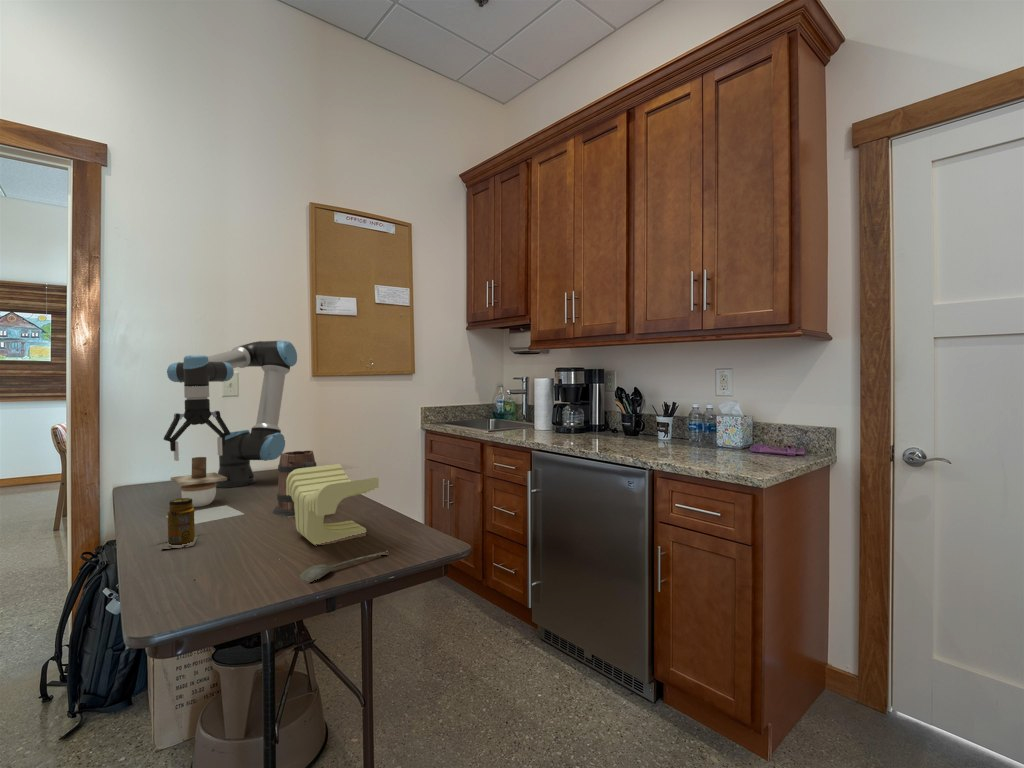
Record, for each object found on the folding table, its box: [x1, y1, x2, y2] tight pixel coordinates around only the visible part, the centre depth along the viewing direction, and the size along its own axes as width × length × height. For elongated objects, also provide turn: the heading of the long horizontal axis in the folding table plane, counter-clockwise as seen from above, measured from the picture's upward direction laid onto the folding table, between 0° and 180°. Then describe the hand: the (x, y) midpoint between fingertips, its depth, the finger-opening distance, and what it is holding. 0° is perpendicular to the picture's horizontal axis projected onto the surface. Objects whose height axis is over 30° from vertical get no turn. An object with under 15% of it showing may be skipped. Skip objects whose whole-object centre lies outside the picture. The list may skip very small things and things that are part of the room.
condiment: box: [167, 497, 196, 545], centre depth 132 cm, size 7×8×12 cm
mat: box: [165, 505, 245, 525], centre depth 160 cm, size 18×18×1 cm
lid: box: [170, 456, 227, 487], centre depth 174 cm, size 14×14×8 cm
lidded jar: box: [180, 482, 217, 508], centre depth 174 cm, size 11×11×9 cm
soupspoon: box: [299, 550, 389, 582], centre depth 113 cm, size 22×3×7 cm
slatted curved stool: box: [286, 463, 380, 546], centre depth 137 cm, size 30×16×18 cm, turn 38°
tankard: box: [272, 450, 317, 516], centre depth 163 cm, size 24×17×20 cm
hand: (198, 457), depth 174 cm, fingers open, 13 cm apart
